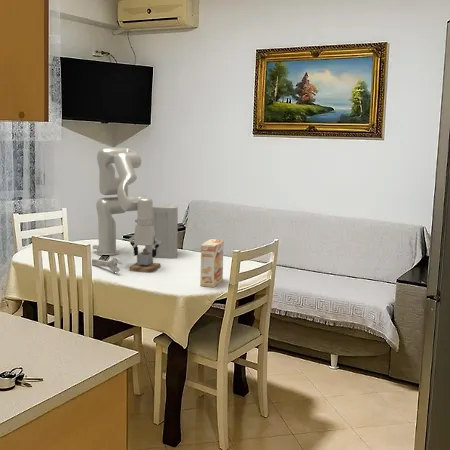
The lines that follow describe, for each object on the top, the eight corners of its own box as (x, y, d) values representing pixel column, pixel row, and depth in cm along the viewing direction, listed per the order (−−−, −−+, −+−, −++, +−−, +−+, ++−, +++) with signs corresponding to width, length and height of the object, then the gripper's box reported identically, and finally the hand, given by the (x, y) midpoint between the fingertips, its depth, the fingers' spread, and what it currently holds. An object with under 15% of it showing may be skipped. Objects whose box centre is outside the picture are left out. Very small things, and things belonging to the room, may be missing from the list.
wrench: (92, 269, 308) (122, 274, 286) (88, 269, 307) (119, 274, 285) (91, 253, 308) (121, 257, 285) (87, 254, 306) (118, 258, 284)
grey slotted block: (137, 264, 296) (136, 254, 296) (141, 261, 302) (141, 251, 301) (148, 265, 295) (148, 255, 294) (152, 262, 301) (152, 252, 300)
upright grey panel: (160, 260, 317) (160, 209, 312) (144, 255, 328) (144, 205, 323) (188, 256, 329) (188, 206, 324) (172, 251, 340) (172, 203, 335)
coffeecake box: (214, 287, 269) (215, 245, 265) (199, 286, 271) (200, 244, 267) (223, 279, 283) (224, 239, 280) (209, 278, 285) (209, 238, 281)
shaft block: (129, 270, 295) (129, 250, 293) (138, 265, 306) (138, 245, 304) (151, 272, 292) (151, 252, 290) (160, 267, 303) (160, 247, 301)
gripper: (125, 222, 293) (126, 256, 296) (158, 224, 289) (158, 258, 292) (132, 220, 301) (132, 253, 304) (163, 222, 296) (163, 255, 299)
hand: (145, 255), depth 298 cm, fingers open, 9 cm apart
